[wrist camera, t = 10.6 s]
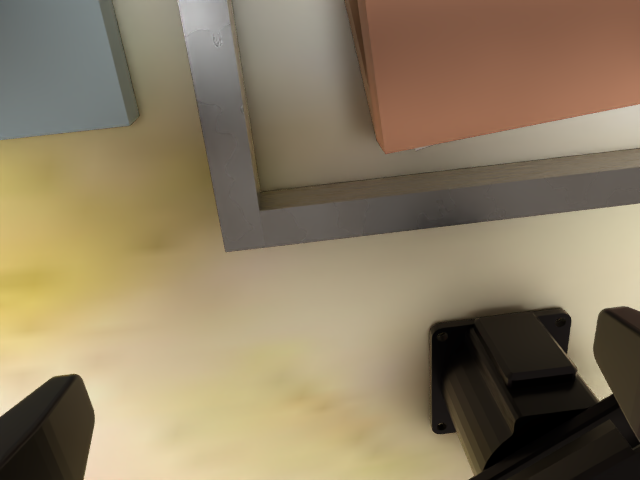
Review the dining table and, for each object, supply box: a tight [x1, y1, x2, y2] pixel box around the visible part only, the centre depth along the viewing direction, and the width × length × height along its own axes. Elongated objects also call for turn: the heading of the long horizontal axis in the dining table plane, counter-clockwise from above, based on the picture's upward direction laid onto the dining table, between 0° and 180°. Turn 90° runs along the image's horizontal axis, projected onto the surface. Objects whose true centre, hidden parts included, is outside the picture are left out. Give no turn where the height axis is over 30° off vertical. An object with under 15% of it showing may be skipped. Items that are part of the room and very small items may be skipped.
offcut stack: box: [344, 0, 640, 154], centre depth 18 cm, size 6×10×5 cm, turn 105°
